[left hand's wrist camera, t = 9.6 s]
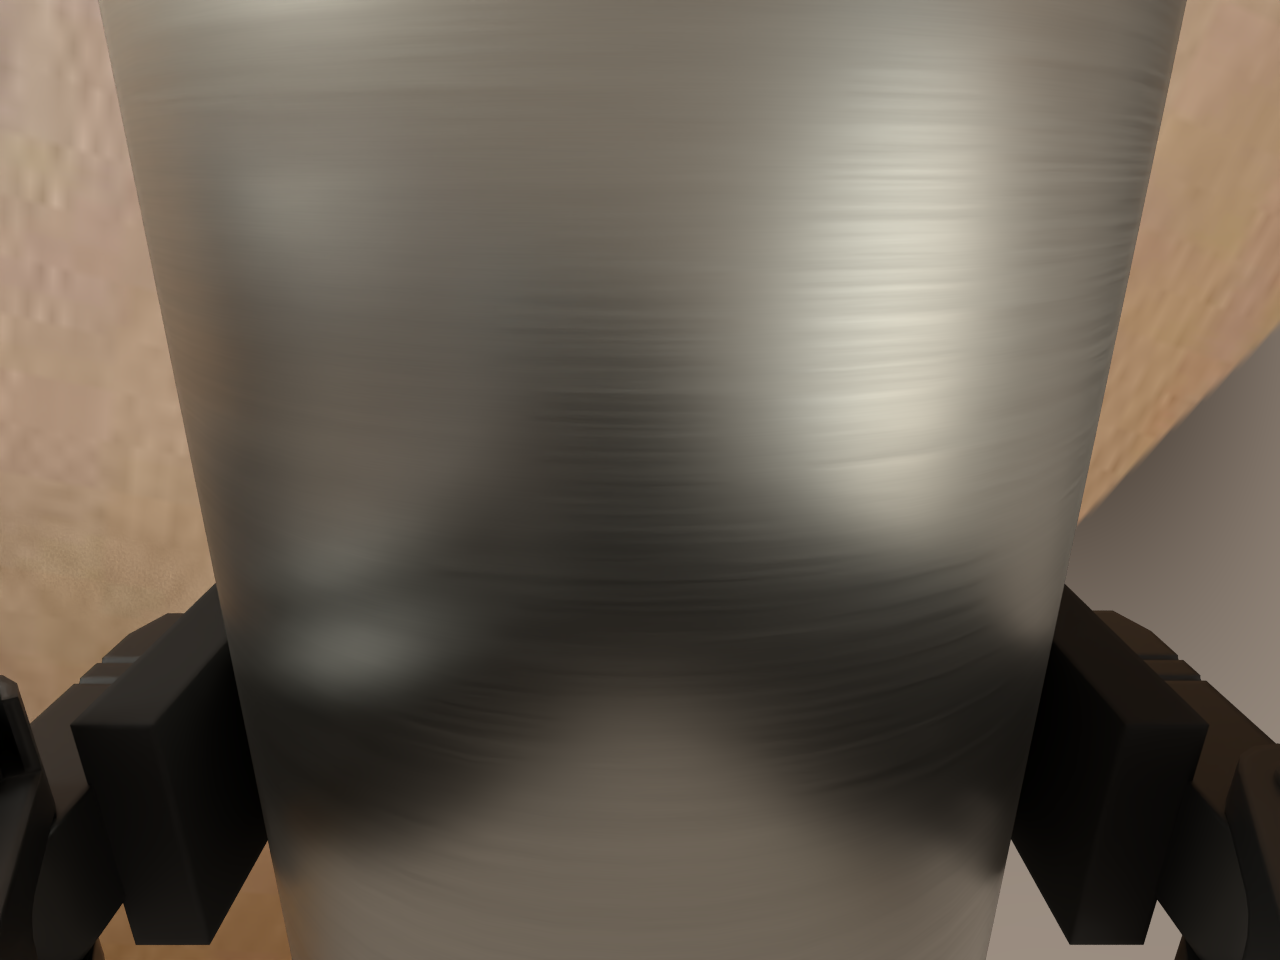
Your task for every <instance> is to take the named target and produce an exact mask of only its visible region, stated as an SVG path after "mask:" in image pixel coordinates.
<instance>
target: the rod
mask: <svg viewBox="0 0 1280 960" xmlns="http://www.w3.org/2000/svg"><path fill="white" fill-rule="evenodd" d="M1186 1H1187V0H98V2H99V7H100V12H101V17H102V22H103V27H104V32H105V37H106V42H107V47H108V52H109V56H110V61H111V66H112V71H113V76H114V81H115V86H116V91H117V96H118V101H119V106H120V111H121V116H122V121H123V126H124V131H125V136H126V141H127V145H128V150H129V155H130V160H131V165H132V170H133V175H134V180H135V185H136V190H137V195H138V200H139V205H140V210H141V215H142V220H143V225H144V230H145V234H146V239H147V244H148V249H149V254H150V259H151V264H152V269H153V274H154V279H155V284H156V289H157V294H158V299H159V304H160V309H161V314H162V319H163V323H164V328H165V333H166V338H167V343H168V348H169V353H170V358H171V363H172V368H173V373H174V378H175V383H176V388H177V393H178V398H179V403H180V408H181V412H182V417H183V422H184V427H185V432H186V437H187V442H188V447H189V452H190V457H191V462H192V467H193V472H194V477H195V482H196V487H197V492H198V497H199V501H200V506H201V511H202V516H203V521H204V526H205V531H206V536H207V541H208V546H209V551H210V556H211V561H212V566H213V571H214V576H215V581H216V586H217V591H218V595H219V600H220V605H221V610H222V615H223V620H224V625H225V630H226V635H227V640H228V645H229V650H230V655H231V660H232V665H233V670H234V675H235V680H236V684H237V689H238V694H239V699H240V704H241V709H242V714H243V719H244V724H245V729H246V734H247V739H248V744H249V749H250V754H251V759H252V764H253V769H254V773H255V778H256V783H257V788H258V793H259V798H260V803H261V808H262V813H263V818H264V823H265V828H266V833H267V838H268V843H269V848H270V853H271V858H272V862H273V867H274V872H275V877H276V882H277V887H278V892H279V897H280V902H281V907H282V912H283V917H284V922H285V927H286V932H287V937H288V942H289V947H290V951H291V956H292V960H986V955H987V950H988V946H989V941H990V936H991V931H992V926H993V922H994V917H995V912H996V907H997V903H998V898H999V893H1000V888H1001V884H1002V879H1003V874H1004V869H1005V864H1006V860H1007V855H1008V850H1009V845H1010V841H1011V836H1012V831H1013V826H1014V822H1015V817H1016V812H1017V807H1018V803H1019V798H1020V793H1021V788H1022V783H1023V779H1024V774H1025V769H1026V764H1027V760H1028V755H1029V750H1030V745H1031V741H1032V736H1033V731H1034V726H1035V721H1036V717H1037V712H1038V707H1039V702H1040V698H1041V693H1042V688H1043V683H1044V679H1045V674H1046V669H1047V664H1048V659H1049V655H1050V650H1051V645H1052V640H1053V636H1054V631H1055V626H1056V621H1057V617H1058V612H1059V607H1060V602H1061V597H1062V593H1063V588H1064V583H1065V578H1066V574H1067V569H1068V564H1069V559H1070V555H1071V550H1072V545H1073V540H1074V535H1075V531H1076V526H1077V521H1078V516H1079V512H1080V507H1081V502H1082V497H1083V493H1084V488H1085V483H1086V478H1087V473H1088V469H1089V464H1090V459H1091V454H1092V450H1093V445H1094V440H1095V435H1096V431H1097V426H1098V421H1099V416H1100V411H1101V407H1102V402H1103V397H1104V392H1105V388H1106V383H1107V378H1108V373H1109V369H1110V364H1111V359H1112V354H1113V349H1114V345H1115V340H1116V335H1117V330H1118V326H1119V321H1120V316H1121V311H1122V307H1123V302H1124V297H1125V292H1126V287H1127V283H1128V278H1129V273H1130V268H1131V264H1132V259H1133V254H1134V249H1135V245H1136V240H1137V235H1138V230H1139V226H1140V221H1141V216H1142V211H1143V206H1144V202H1145V197H1146V192H1147V187H1148V183H1149V178H1150V173H1151V168H1152V164H1153V159H1154V154H1155V149H1156V144H1157V140H1158V135H1159V130H1160V125H1161V121H1162V116H1163V111H1164V106H1165V102H1166V97H1167V92H1168V87H1169V82H1170V78H1171V73H1172V68H1173V63H1174V59H1175V54H1176V49H1177V44H1178V40H1179V35H1180V30H1181V25H1182V20H1183V16H1184V11H1185V6H1186Z"/></svg>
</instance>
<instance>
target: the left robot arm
mask: <svg viewBox="0 0 1280 960" xmlns="http://www.w3.org/2000/svg"><path fill="white" fill-rule="evenodd" d="M1011 840H1012V841H1013V843H1014V845H1015V847H1016V849H1017V851H1018V852H1019V854H1020V856H1021V858H1022V859H1023V861H1024V863H1025V865H1026V867H1027V869H1028V870H1029V872H1030V874H1031V876H1032V878H1033V879H1034V881H1035V883H1036V885H1037V887H1038V888H1039V890H1040V892H1041V894H1042V896H1043V897H1044V899H1045V901H1046V903H1047V905H1048V906H1049V908H1050V910H1051V912H1052V914H1053V915H1054V917H1055V919H1056V921H1057V923H1058V924H1059V926H1060V928H1061V930H1062V932H1063V933H1064V935H1065V937H1066V939H1067V941H1068V942H1069V944H1070V945H1143V944H1144V942H1145V938H1146V935H1147V932H1148V928H1149V925H1150V922H1151V918H1152V915H1153V911H1154V908H1155V905H1156V902H1157V900H1158V901H1159V903H1160V904H1161V905H1162V907H1163V908H1164V910H1165V911H1166V912H1167V914H1168V915H1169V917H1170V918H1171V919H1172V921H1173V922H1174V924H1175V925H1176V927H1177V928H1178V929H1179V931H1180V932H1181V934H1182V938H1181V941H1180V944H1179V947H1178V950H1177V953H1176V956H1175V960H1280V744H1276V743H1275V742H1274V741H1273V740H1271V739H1270V738H1269V737H1268V736H1267V735H1266V734H1265V733H1264V732H1263V731H1261V730H1260V729H1259V728H1258V727H1257V726H1256V725H1255V724H1254V723H1253V722H1251V721H1250V720H1249V719H1248V718H1247V717H1246V716H1245V715H1244V714H1243V713H1241V712H1240V711H1239V710H1238V709H1237V708H1236V707H1235V706H1234V705H1233V704H1231V703H1230V702H1229V701H1228V700H1227V699H1226V698H1225V697H1224V696H1223V695H1221V694H1220V693H1219V692H1218V691H1217V690H1216V689H1215V688H1214V687H1213V686H1211V685H1210V684H1209V683H1208V682H1207V681H1201V679H1200V675H1199V674H1198V673H1197V672H1196V671H1195V670H1194V669H1193V668H1191V667H1190V666H1189V665H1188V664H1187V663H1186V662H1185V661H1184V660H1178V655H1177V654H1176V653H1175V652H1174V651H1173V650H1171V649H1170V648H1169V647H1168V646H1167V645H1166V644H1165V643H1164V642H1163V641H1161V640H1160V639H1159V638H1158V637H1157V636H1156V635H1155V634H1154V633H1153V632H1151V631H1150V630H1148V629H1146V628H1144V627H1142V626H1140V625H1139V624H1137V623H1135V622H1133V621H1131V620H1129V619H1127V618H1126V617H1124V616H1122V615H1120V614H1118V613H1116V612H1114V611H1092V610H1091V609H1090V608H1089V607H1088V606H1087V605H1086V604H1085V603H1084V602H1083V601H1082V600H1081V599H1080V598H1079V597H1078V596H1077V595H1076V594H1075V593H1074V592H1073V591H1072V590H1071V589H1069V588H1068V587H1067V586H1066V585H1065V584H1064V588H1063V593H1062V597H1061V602H1060V607H1059V612H1058V617H1057V621H1056V626H1055V631H1054V636H1053V640H1052V645H1051V650H1050V655H1049V659H1048V664H1047V669H1046V674H1045V679H1044V683H1043V688H1042V693H1041V698H1040V702H1039V707H1038V712H1037V717H1036V721H1035V726H1034V731H1033V736H1032V741H1031V745H1030V750H1029V755H1028V760H1027V764H1026V769H1025V774H1024V779H1023V783H1022V788H1021V793H1020V798H1019V803H1018V807H1017V812H1016V817H1015V822H1014V826H1013V831H1012V836H1011ZM267 841H268V838H267V833H266V828H265V823H264V818H263V813H262V808H261V803H260V798H259V793H258V788H257V783H256V778H255V773H254V769H253V764H252V759H251V754H250V749H249V744H248V739H247V734H246V729H245V724H244V719H243V714H242V709H241V704H240V699H239V694H238V689H237V684H236V680H235V675H234V670H233V665H232V660H231V655H230V650H229V645H228V640H227V635H226V630H225V625H224V620H223V615H222V610H221V605H220V600H219V595H218V591H217V586H216V583H215V584H214V585H213V586H212V587H211V588H210V589H209V590H208V591H207V592H206V593H205V594H204V595H203V596H202V597H201V598H200V599H199V600H198V601H197V602H196V603H195V604H194V605H193V606H192V607H190V608H189V609H188V610H187V611H186V612H185V613H167V614H165V615H164V616H162V617H160V618H158V619H156V620H154V621H152V622H151V623H149V624H147V625H145V626H143V627H141V628H139V629H138V630H136V631H134V632H132V633H130V634H129V635H127V636H126V637H125V638H124V639H123V640H122V641H121V642H120V643H119V644H118V645H116V646H115V647H114V648H113V649H112V650H111V651H110V652H109V653H108V654H107V655H105V656H104V657H103V658H102V663H97V664H95V665H94V666H93V667H92V668H91V669H90V670H89V671H88V672H87V673H86V674H84V675H83V676H82V677H81V678H80V683H79V684H73V685H72V686H71V687H70V688H69V689H68V690H67V691H66V692H65V693H64V694H62V695H61V696H60V697H59V698H58V699H57V700H56V701H55V702H54V703H52V704H51V705H50V706H49V707H48V708H47V709H46V710H45V711H44V712H43V713H41V714H40V715H39V716H38V717H37V718H36V719H35V720H34V721H33V722H32V723H29V720H28V717H27V714H26V710H25V707H24V704H23V701H22V698H21V695H20V692H19V689H18V686H17V683H15V682H14V681H12V680H10V679H8V678H7V677H5V676H3V675H0V960H105V959H104V953H103V950H102V947H101V944H100V941H99V938H98V937H99V936H100V935H101V933H102V932H103V930H104V929H105V927H106V926H107V925H108V923H109V922H110V920H111V919H112V918H113V916H114V915H115V913H116V912H117V910H118V909H119V908H120V906H121V905H122V903H123V904H124V907H125V910H126V914H127V917H128V920H129V924H130V927H131V930H132V934H133V937H134V940H135V944H136V945H210V943H211V941H212V940H213V938H214V936H215V934H216V932H217V931H218V929H219V927H220V925H221V923H222V922H223V920H224V918H225V916H226V914H227V913H228V911H229V909H230V907H231V905H232V904H233V902H234V900H235V898H236V896H237V895H238V893H239V891H240V889H241V887H242V886H243V884H244V882H245V880H246V878H247V877H248V875H249V873H250V871H251V869H252V868H253V866H254V864H255V862H256V860H257V859H258V857H259V855H260V853H261V851H262V850H263V848H264V846H265V844H266V842H267Z"/></svg>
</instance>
